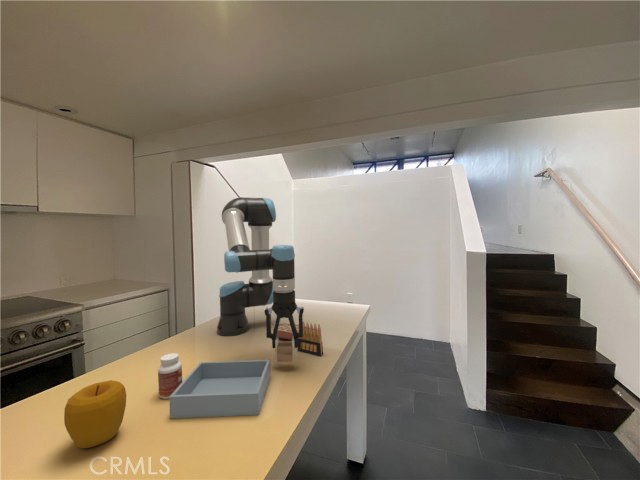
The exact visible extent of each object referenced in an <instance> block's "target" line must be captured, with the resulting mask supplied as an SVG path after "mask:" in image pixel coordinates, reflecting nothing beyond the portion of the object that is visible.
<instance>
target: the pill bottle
mask: <svg viewBox="0 0 640 480" xmlns="http://www.w3.org/2000/svg"><path fill="white" fill-rule="evenodd" d="M179 357H180V356H179V353H176V352H175V353H174V352H173V353H167V354H164V355H162V356H161V357H160V365H159V366H158V368H157V377H158V378H157V379H158V396H159V397H160V398H161V399H163V400H165V399H166V400H167V399H168V400H169V397H170V395H171V394H172V393H173V392H174V391H175V390H176V389H177V388H178V387H179V385H180V384H181V383H182V382H183V368H182V367H183V366H182V365H183V364H182V362H181V361H179V359H180V358H179Z"/></svg>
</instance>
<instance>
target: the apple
mask: <svg viewBox="0 0 640 480" xmlns="http://www.w3.org/2000/svg"><path fill="white" fill-rule="evenodd" d="M126 407H127V391H126V387H125V385H124V384H123V383H122V382H121V381H117V380H113V379H112V380H111V379H110V380H106V381H100V382H96V383H92V384H90V385H87V386H84V387H83V388H81V389H79V390H78V391H76V392H75V393H74V394H72V395H71V396H70V397H69V398H68V399H67V402H66V404H65V407H64V413H63V414H64V415H63V416H64V417H63V418H64V419H63V420H64V426H65V429H66V431H67V433H68V435H69V437H70V439H71V440H72V441H73V443H74V444H75V446H77V447H78V448H80V449H87V448H88V449H89V448H93V447H97V446H99V445H102V444H104V443H106V442H109V440H111V439H113V437H115V435H116V434H117V432H118V431H119V430H120V428H121V426H122V424H123V420H124V416H125V411H126Z"/></svg>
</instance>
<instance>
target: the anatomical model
mask: <svg viewBox="0 0 640 480" xmlns="http://www.w3.org/2000/svg"><path fill="white" fill-rule="evenodd" d="M295 326H296V329H297V333H298V330H299V324H295ZM274 327H275V325H274V326H273V327H272V330H273V331H274ZM305 329H306V325H305ZM309 331H310V326H309ZM313 333H314V328H313ZM317 334H318V329H317ZM276 337H278V338H279V339H282V340H283V339H284V340H287V341H292V337H294V336H293V333H292V329H291V326H290V323H286V322H285V323H279V327H278V331H277V335H276Z"/></svg>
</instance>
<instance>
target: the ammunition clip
mask: <svg viewBox="0 0 640 480" xmlns="http://www.w3.org/2000/svg"><path fill="white" fill-rule="evenodd" d="M305 326H306V329H305ZM309 327H310V331H309ZM313 329H314V333H313ZM317 330H318V334H317ZM298 333H299V330H298ZM322 339H323V338H322V329H321V325H320V323H319V324H318V325H317V324H316V323H314V325H313V323H312V322H310V324H309V322H308V321H307V322H306V323H305V321H304V320H303V337H299V338H298V347H297V352H299V353H303V354H304V353H305V354H308V355H312V356H316V357H322V356H323V355H324V347H323V341H322Z"/></svg>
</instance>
